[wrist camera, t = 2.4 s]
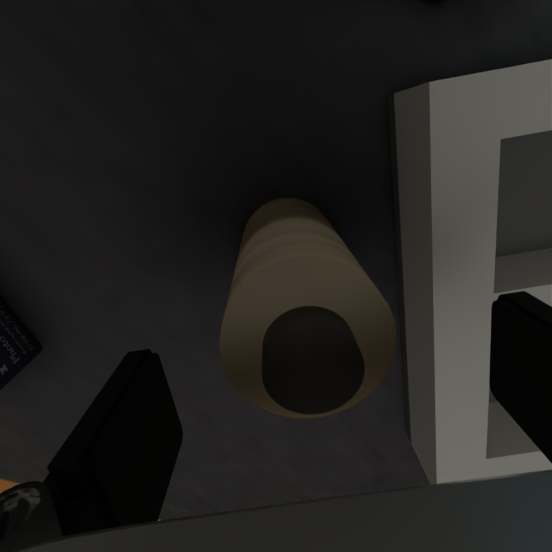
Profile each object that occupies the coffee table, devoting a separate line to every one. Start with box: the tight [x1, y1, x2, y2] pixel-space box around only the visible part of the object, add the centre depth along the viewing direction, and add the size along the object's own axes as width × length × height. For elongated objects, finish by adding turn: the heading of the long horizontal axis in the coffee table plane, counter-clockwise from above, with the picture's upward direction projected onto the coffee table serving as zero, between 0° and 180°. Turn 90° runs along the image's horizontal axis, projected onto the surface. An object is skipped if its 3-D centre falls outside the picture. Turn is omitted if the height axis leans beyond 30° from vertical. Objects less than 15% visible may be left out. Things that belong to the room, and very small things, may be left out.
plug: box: [219, 197, 397, 418], centre depth 15 cm, size 5×5×12 cm
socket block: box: [387, 59, 552, 484], centre depth 19 cm, size 22×12×5 cm, turn 10°
